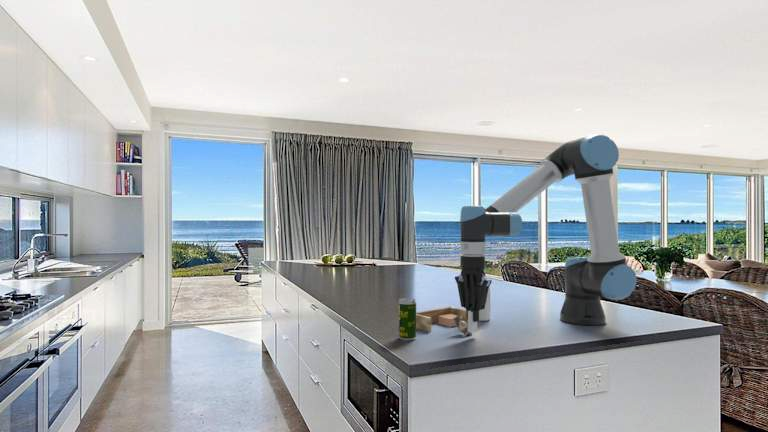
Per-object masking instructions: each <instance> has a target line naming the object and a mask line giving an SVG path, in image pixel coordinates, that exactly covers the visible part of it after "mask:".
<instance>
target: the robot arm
mask: <svg viewBox="0 0 768 432" xmlns="http://www.w3.org/2000/svg"><path fill="white" fill-rule="evenodd" d="M619 155H620V153H619V148H618V146H617V144H616V143H615V141H614V140H613V139H612V138H610V137H609V136H608V135H604V134H593V135H586V136H584V137H581V138H577V139H572V140H569V141H566V142H565V143H564V144H561V145H560V146H559V147H558V148H556V149H555V150H554V151H553V152H551V153H550V154H549V155H548V156H545V158H544V159H542V160H541V162H540V164H539V166H538V167H537V168H536V169H534V170H533V171H532V172H531V173H529V174H528V175H527V176H526V177H524V178H523V179H522V180H521V181H519V182H518V183H517V184H515V185H514V186H513V187H512V188H510V189H509V190H508V191H507V192H505V193H504V194H503V195H501V196H500V197H499V198H498V199H496V200H495V201H494V202H493V203H492V204H490V205H489V206H488V207H485V206H484V205H464V206H462V207H461V209H460V219H459V221H460V222H459V224H460V255H461V256H460V257H459V259H460V260H459V261H460V266H459V267H460V268H461V271H460V274H459V275H456V276H455V277H454V280H455V282H456V284H457V289H458V296H459V303H460V307H461V308H464V310H466V319H467V320H468V324H467V325H468V332H471V333H472V334H474V333H476V332H478V322H480V321H479V311H480V310H483V309H484V308H485V304H486V299H487V294H488V289H489V286H491V284H492V279H489V278H487V276H486V277H485V274H486V272H485V273H484V268H485V265H486V257H485V254H486V237H516V236H519V235H520V233H521V232H522V229H523V219H522V216H521V215H520V214H519V213H518V212H519V211H520V210H521V209H523V208H524V207H525V206H527V205H528V204H529V203H530V202H531V201H532V200H534V199H535V198H537V197H538V196H539V195H540V194H541V193H543V192H544V191H545V190H546V189H548V188H549V187H550V186H552V185H553V184H554V183H560V182H562V180H563V179H565V178H568V177H569V176H573V175H574V180H575V181H576V182H578V183H580V186H581V187H580V188H581V194H582V202H583V207H584V213H585V215H584V216H585V220H586V222H585V223H586V228H587V236H588V241H589V248H590V255H589V256H582V257H581V256H578V257H568V258H566V260H565V263H564V273H565V274H564V283H565V284H564V287H565V289H564V290H565V291H564V293H565V294H564V296H565V298H564V300H563V303H562V307H561V310H560V312H559V317H560V318H559V319H560V321H561V322H565V323H569V324H574V325H579V326H580V325H581V326H582V325H583V326H601V325H605V324H606V322H607V321H606V320H607V318H606V317H607V316H606V314H605V310H604V308H603V306H602V303H601V298H605V299H608V300H615V301H618V300H620V301H621V300H624V299H626V298H628V297H629V296H631V294H632V292H633V291H634V290H635V288H636V285H637V275H636V274H637V273H636V271H635V270H634V269H633V268H632V267H631V266H629V265H628V264H627V259H626V255H624V254H623V253H622V252H621V251H620V247H619V242H618V241H619V240H618V233H617V226H616V219H615V218H616V217H615V213H614V212H615V211H614V205H613V198H612V197H613V196H612V192H611V184H610V179H611V178H612V176H614V167H615V166H616V165H617V162H618V161H619ZM481 284H482V285H481Z"/></svg>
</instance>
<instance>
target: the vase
mask: <svg viewBox="0 0 768 432" xmlns="http://www.w3.org/2000/svg"><path fill="white" fill-rule="evenodd" d="M453 320H454V321H455V324H456V325H457V326H456V329H457V330H458V331H459V332H460V333H463V335H461V336H460V335H459V337H460V338H464V337H465V338H466V337H467V336H473V333H471V332H468V324H467V323H466V322H465V321H463V320H462V319H461V318H460V316H456V317H455V318H454V319H453Z"/></svg>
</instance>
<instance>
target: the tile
mask: <svg viewBox="0 0 768 432" xmlns="http://www.w3.org/2000/svg"><path fill="white" fill-rule="evenodd" d="M456 316H457V315H453V314H448V315H441V316H438V322H437V323H438V324H439V325H442V326H446V327H447V328H448V327H449V328H452V327H457V325H456V324H455V321H454V320H453V319H454V318H455V317H456ZM460 318H461V319H462V320H463V317H461V316H460Z"/></svg>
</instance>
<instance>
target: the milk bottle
mask: <svg viewBox="0 0 768 432" xmlns="http://www.w3.org/2000/svg"><path fill="white" fill-rule="evenodd" d="M486 271H487V264H485V268H484V273H485V277H486V278H487V275H486ZM481 285H482V284H481ZM490 286H491V285H490ZM490 286H489V289H488V294H487V299H486V304H485V308H484V309H483V310H480V311H479V321H478V322H488V321H490V320H491V287H490Z"/></svg>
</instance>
